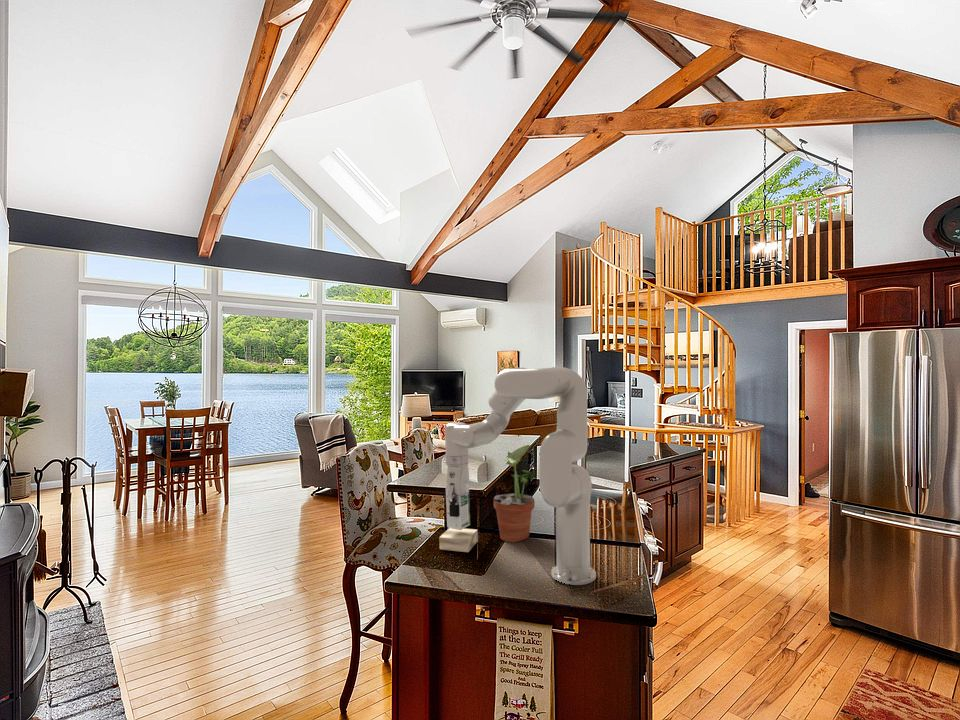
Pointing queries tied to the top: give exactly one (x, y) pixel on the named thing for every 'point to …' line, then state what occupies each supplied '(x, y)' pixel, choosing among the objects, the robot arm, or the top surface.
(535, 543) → the top surface
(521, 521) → the potted plant
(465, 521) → the syrup box
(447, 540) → the birch block
